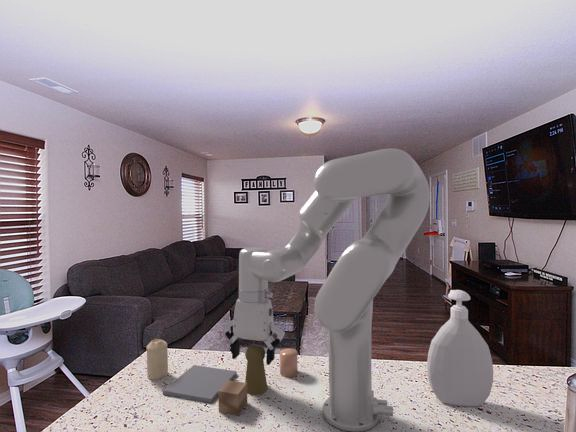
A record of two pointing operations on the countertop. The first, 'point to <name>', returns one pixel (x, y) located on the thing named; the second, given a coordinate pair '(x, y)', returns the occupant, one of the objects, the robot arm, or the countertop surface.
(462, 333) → the soap bottle
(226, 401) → the walnut block
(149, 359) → the candle
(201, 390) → the slate tile
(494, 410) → the countertop surface
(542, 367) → the countertop surface
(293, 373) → the peach blob
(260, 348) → the olive tall rounded piece
